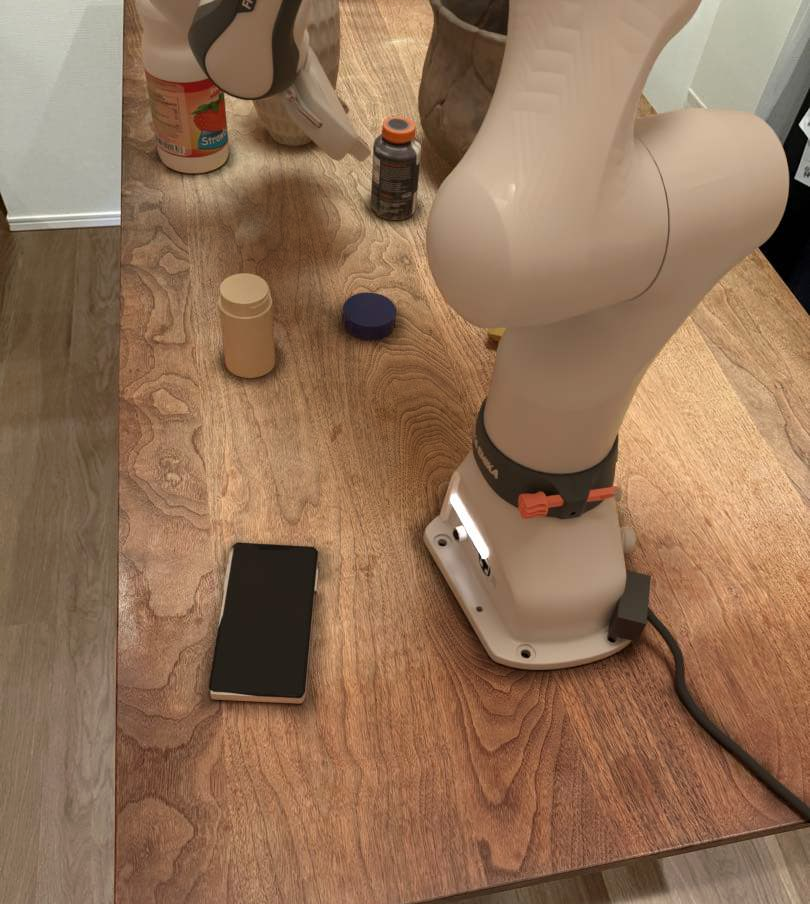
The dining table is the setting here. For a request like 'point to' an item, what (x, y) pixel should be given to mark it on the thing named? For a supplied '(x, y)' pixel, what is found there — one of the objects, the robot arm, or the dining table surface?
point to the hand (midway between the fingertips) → (354, 133)
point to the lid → (369, 316)
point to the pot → (461, 72)
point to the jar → (247, 325)
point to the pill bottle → (395, 169)
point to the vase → (327, 49)
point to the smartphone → (265, 624)
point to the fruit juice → (181, 98)
